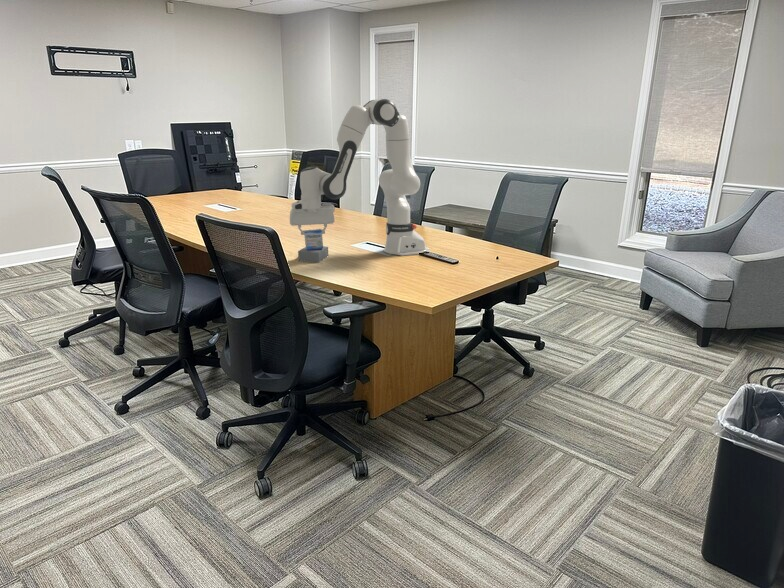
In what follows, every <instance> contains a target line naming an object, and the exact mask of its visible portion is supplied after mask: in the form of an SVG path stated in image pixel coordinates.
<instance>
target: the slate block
mask: <svg viewBox="0 0 784 588" xmlns="http://www.w3.org/2000/svg"><path fill="white" fill-rule="evenodd" d="M297 256H298V262H305V261H308V262H309V263H321V262H323V259H324V260H326V259H327V258H328V257H329V246H324V245H323V249H314V250H306V246H304V247H302V248H301V249H300V250H298V251H297ZM327 256H328V257H327ZM320 261H321V262H320Z"/></svg>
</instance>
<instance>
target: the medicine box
mask: <svg viewBox="0 0 784 588" xmlns="http://www.w3.org/2000/svg"><path fill="white" fill-rule="evenodd" d="M321 229H322V228H316V229H315V228H313V229H307V230H306V229H304V235H303V236H304V242H305V243H304V245H305V246H304V247H306V250H314V249H323V246H324V241H323V240H324V239H323V234H322V230H321Z"/></svg>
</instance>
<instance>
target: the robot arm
mask: <svg viewBox="0 0 784 588" xmlns="http://www.w3.org/2000/svg"><path fill="white" fill-rule="evenodd" d="M371 125H377V126H383V128H384V131H385V132H384V133H385V153H386V154H385V155H386V159H387V161H389V164H390V167H391V169H386V170H383V171H382V172H381V173H380V175H379V177H378V185H379V186H380V187H381V190H382V192H383V195H384V199H385V203H386V213H387V215H386V225H385V234H386V238H385V239H386V240H385V245H384V249H383V252H384V253H386V254H390V255H398V256H401V257H402V256H404V257H405V256H413V255H420V254H419V253H421V252H423V251H427V252H429V253H430V252H431V250H430V247H428V246H426V241H425V239H424V237H423V236H422V235H421V234H419V233H418V232H417V231H415V230H416V229H417V224H415V223H412V222H411V206H410V204H409V202H408V200H407V197H406V196H411V195H412V196H413V195H416V194H417V193H418V192H419V190H420V188H421V180H420V177H419V176H418V174H417V173H416V171H415V168H414V166H413V162H412V158H411V157H412V156H411V140H410V139H411V138H410V126H409V121H408V118H407V117H406V115H403V114H401V113H400V112H399V111H398V109H397V106H396V104H395V103H394V102H393V101H391V100H390V99H388V98H376V99H372V100H369V101H368V102H366V103H365V104H364V105H360V104H353V105H352V106H351V107H349V109H348V111H347V113H346V114H345V115H344V118H343V119H342V121H341V123H340V127H339V130H338V132H337V137H336V142H337V145H338V148H339V153H338V158H337V161H336V163H335V166H334V168H333V171H332V173H329V172H326V171H324V170H322V169H320V168H319V167H318V166H308V167H305V168H302V170H301V171H300V176H299V188H300V190H301V192H300V193H301V195H300V200H297V201H295V202H292V203H291V205H290V206H291V210H290V212H289V225H290V226H293V227H295V226H297V228H298V230H299V231H300V235H301V236H304V230H305V229H304V230H303V229H302V226H313V225H323V228H320V229H321V230H322V235H324V234H326V229H327V227H328V225H329V224H332V225H333V224H334V223H335V214H334V213H335V209H336V208H335V205H334V204H333V203H331V202H328V203H326V202H325V203H322V195H325V197H327V198H328V199H329V200H339V199H341V198H342V197H344V195H345V194H346V191H347V179H348V176H349V172H350V169H351V168H352V164H353V162H354V159H355V157H356V154H357V151H358V150H359V147H360V145H361V143H362V141H363V139H364V136H365V134H366V131H367V130H368V128H369V126H371Z"/></svg>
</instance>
